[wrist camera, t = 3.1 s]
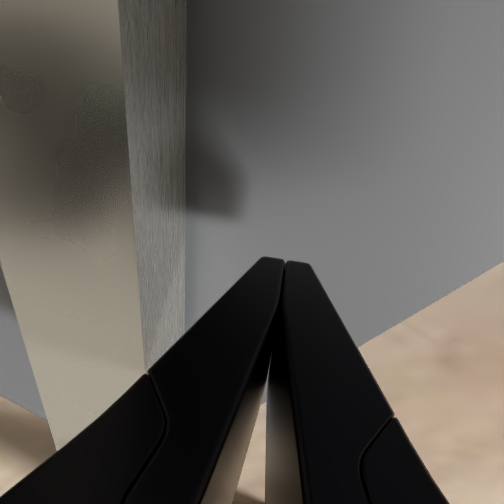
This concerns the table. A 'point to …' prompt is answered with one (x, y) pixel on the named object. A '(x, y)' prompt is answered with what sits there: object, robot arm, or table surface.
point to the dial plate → (334, 156)
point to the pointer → (93, 193)
